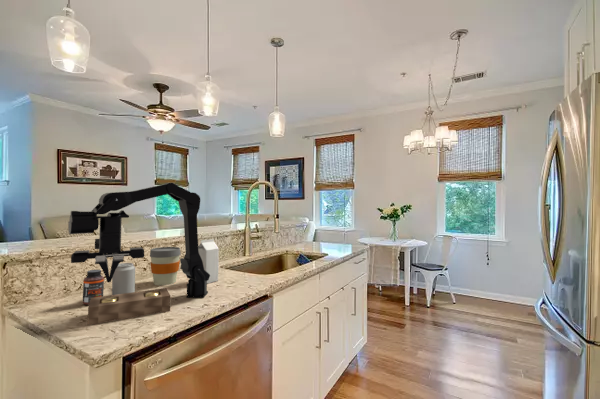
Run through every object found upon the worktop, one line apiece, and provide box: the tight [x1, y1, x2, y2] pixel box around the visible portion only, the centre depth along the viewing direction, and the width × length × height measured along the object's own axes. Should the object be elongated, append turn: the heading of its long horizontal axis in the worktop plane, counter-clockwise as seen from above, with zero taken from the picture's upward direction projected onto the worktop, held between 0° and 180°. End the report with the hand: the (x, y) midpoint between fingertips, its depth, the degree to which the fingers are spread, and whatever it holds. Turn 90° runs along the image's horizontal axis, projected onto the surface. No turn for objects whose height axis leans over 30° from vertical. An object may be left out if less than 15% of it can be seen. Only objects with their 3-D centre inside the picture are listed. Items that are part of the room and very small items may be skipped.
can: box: [111, 262, 136, 295], centre depth 109 cm, size 8×8×12 cm
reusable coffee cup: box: [149, 246, 182, 286], centre depth 128 cm, size 13×13×15 cm
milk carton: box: [198, 238, 220, 285], centre depth 130 cm, size 7×7×19 cm
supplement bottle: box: [82, 269, 105, 306], centre depth 101 cm, size 6×6×11 cm
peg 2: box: [145, 292, 159, 297], centre depth 96 cm, size 4×4×5 cm
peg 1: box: [102, 297, 117, 303], centre depth 90 cm, size 4×4×5 cm
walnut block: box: [87, 287, 171, 326], centre depth 93 cm, size 22×10×5 cm, turn 122°
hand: (109, 282), depth 90 cm, fingers closed
